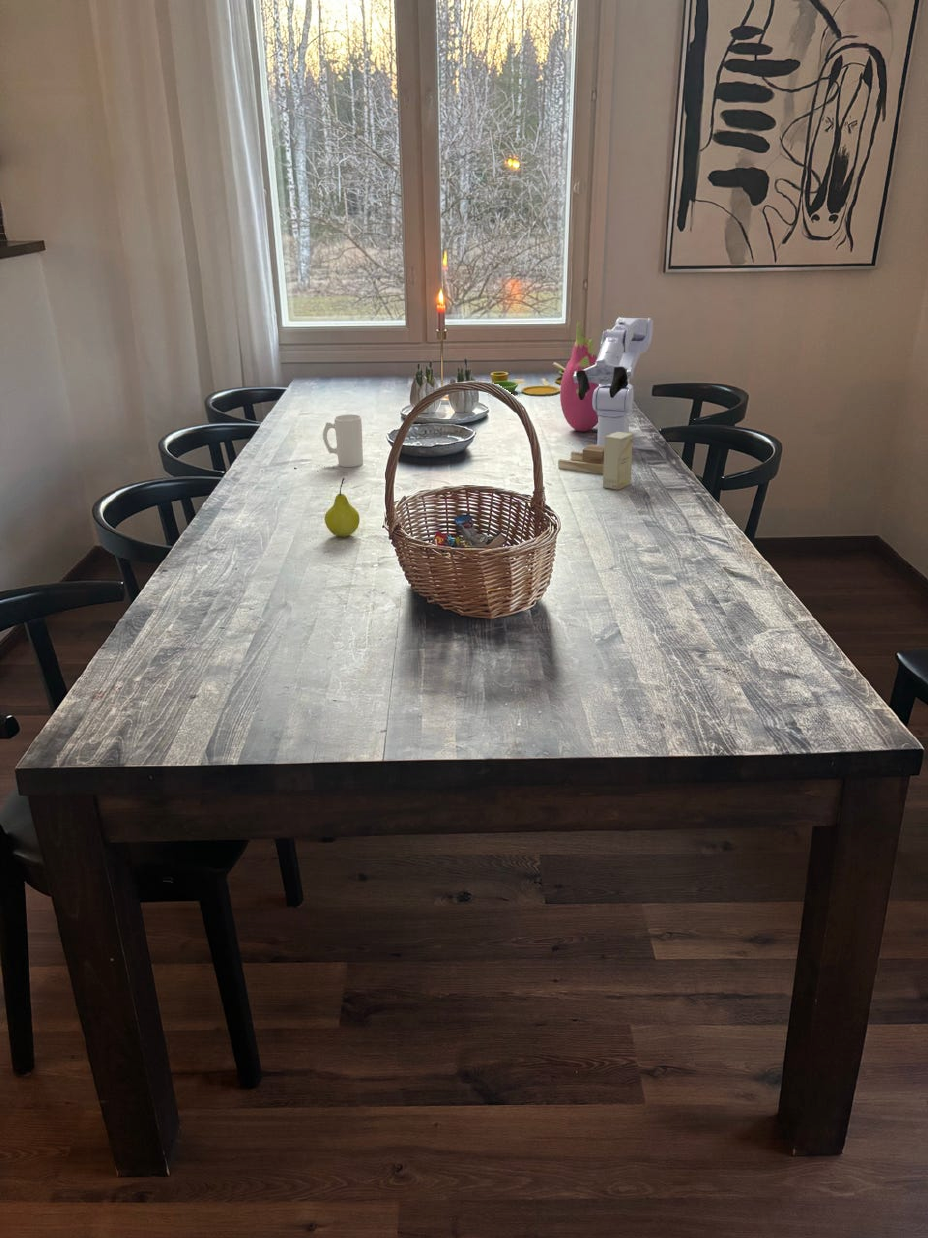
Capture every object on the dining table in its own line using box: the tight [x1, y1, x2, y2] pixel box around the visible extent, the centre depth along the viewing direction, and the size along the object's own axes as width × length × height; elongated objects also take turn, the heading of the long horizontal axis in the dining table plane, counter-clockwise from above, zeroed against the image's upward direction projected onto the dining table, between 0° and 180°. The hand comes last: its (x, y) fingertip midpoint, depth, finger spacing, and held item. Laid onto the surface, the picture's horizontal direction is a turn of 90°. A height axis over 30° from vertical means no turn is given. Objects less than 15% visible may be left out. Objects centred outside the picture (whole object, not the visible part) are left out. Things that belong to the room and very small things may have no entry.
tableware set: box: [490, 362, 566, 397], centre depth 324 cm, size 41×28×6 cm
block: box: [581, 444, 604, 465], centre depth 239 cm, size 5×5×5 cm
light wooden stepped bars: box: [557, 450, 604, 475], centre depth 240 cm, size 9×12×2 cm
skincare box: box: [602, 431, 634, 491], centre depth 223 cm, size 6×4×12 cm
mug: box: [322, 413, 364, 468], centre depth 244 cm, size 10×7×12 cm, turn 86°
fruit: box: [323, 477, 361, 538], centre depth 196 cm, size 7×7×12 cm
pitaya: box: [559, 321, 599, 432], centre depth 265 cm, size 18×14×30 cm
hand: (595, 395), depth 230 cm, fingers open, 7 cm apart
